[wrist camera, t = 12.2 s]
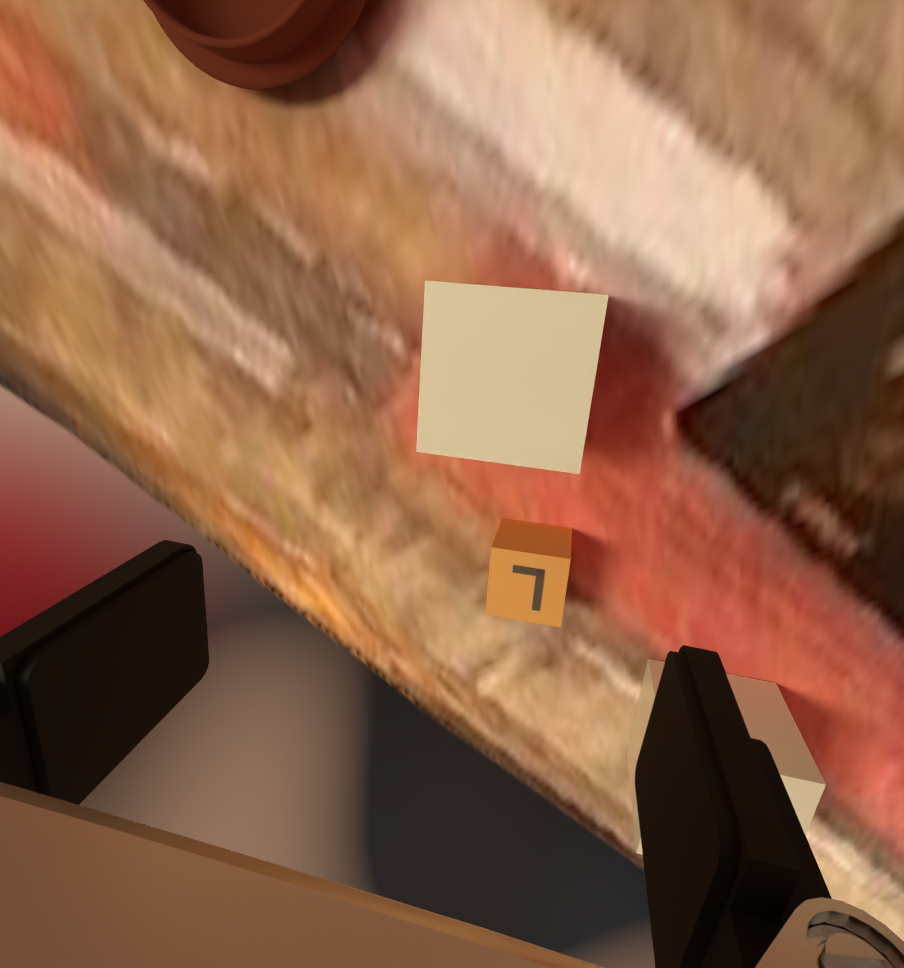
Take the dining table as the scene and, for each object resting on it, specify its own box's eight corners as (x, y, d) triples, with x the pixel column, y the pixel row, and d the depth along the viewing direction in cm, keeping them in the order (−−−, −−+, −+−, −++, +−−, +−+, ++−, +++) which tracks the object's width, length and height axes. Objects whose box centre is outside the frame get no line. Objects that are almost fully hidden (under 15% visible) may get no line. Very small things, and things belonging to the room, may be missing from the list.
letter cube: (572, 527, 31) (570, 559, 27) (563, 590, 32) (560, 629, 29) (501, 517, 32) (491, 547, 28) (496, 579, 33) (485, 616, 29)
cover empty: (775, 682, 31) (825, 784, 25) (744, 775, 34) (782, 890, 27) (648, 658, 33) (664, 749, 26) (626, 749, 35) (636, 853, 29)
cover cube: (602, 293, 27) (608, 294, 20) (580, 433, 29) (579, 474, 23) (461, 282, 28) (425, 280, 22) (451, 417, 30) (416, 451, 24)
